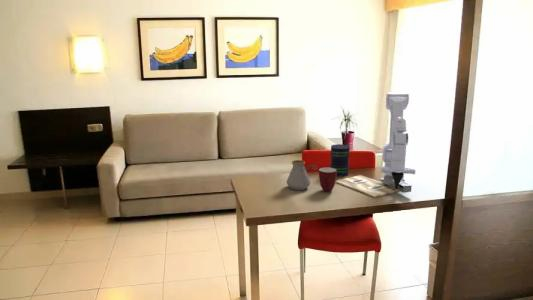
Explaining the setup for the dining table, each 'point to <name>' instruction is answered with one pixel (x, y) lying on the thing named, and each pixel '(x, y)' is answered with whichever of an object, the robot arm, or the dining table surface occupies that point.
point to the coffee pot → (299, 176)
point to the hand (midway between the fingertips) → (396, 188)
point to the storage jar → (340, 159)
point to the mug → (327, 178)
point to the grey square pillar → (402, 185)
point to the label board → (367, 186)
